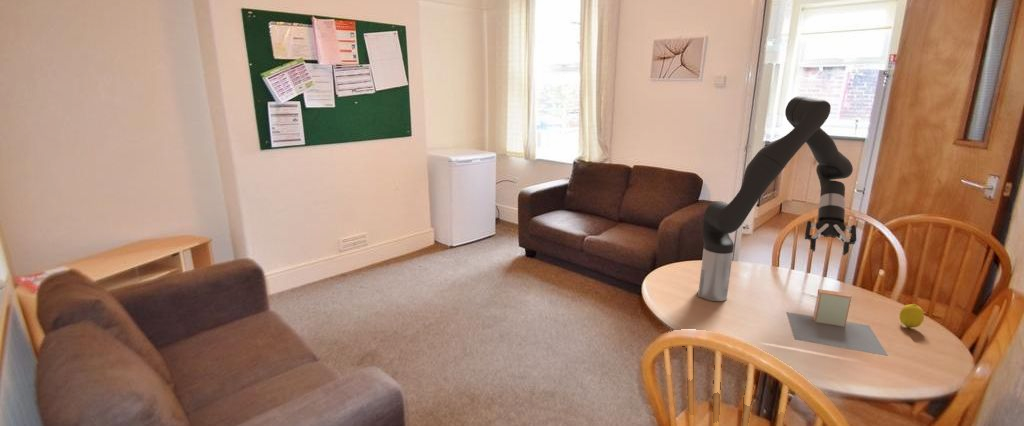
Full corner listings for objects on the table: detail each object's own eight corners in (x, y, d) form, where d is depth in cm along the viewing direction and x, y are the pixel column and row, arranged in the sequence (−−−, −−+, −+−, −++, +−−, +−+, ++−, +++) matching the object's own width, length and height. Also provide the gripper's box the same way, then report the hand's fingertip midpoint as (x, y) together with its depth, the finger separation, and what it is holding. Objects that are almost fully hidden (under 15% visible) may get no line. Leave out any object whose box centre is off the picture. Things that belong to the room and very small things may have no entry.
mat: (794, 341, 136) (794, 339, 136) (786, 313, 152) (786, 312, 152) (887, 357, 128) (888, 355, 128) (868, 327, 144) (869, 325, 144)
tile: (814, 322, 145) (820, 292, 142) (812, 318, 148) (818, 289, 145) (845, 327, 142) (851, 297, 139) (843, 323, 145) (849, 293, 142)
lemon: (914, 334, 140) (921, 309, 137) (893, 326, 144) (899, 302, 142) (924, 330, 142) (930, 305, 140) (902, 322, 147) (908, 298, 145)
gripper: (808, 202, 163) (804, 244, 157) (859, 206, 156) (857, 250, 150) (806, 212, 169) (802, 254, 163) (854, 217, 162) (853, 260, 156)
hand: (828, 252), depth 156 cm, fingers open, 8 cm apart
